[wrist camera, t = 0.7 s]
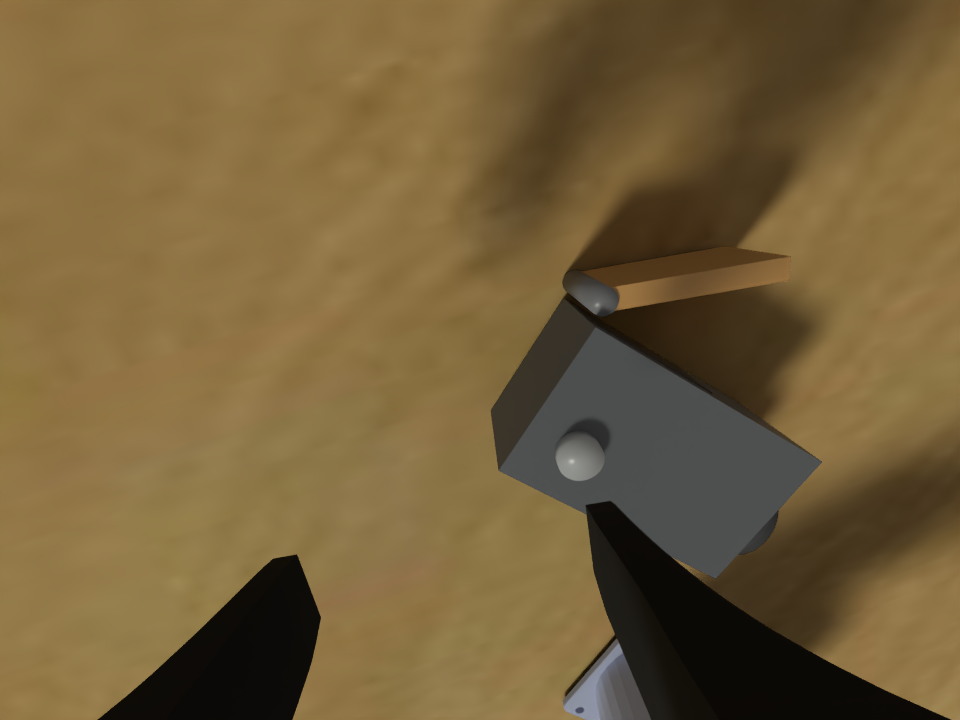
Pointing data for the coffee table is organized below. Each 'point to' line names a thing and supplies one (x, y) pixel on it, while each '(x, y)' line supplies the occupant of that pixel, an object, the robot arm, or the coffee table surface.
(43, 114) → the coffee table surface
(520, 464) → the camera body
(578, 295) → the side door
